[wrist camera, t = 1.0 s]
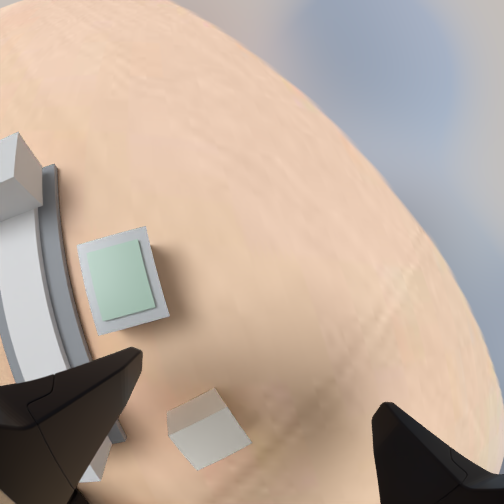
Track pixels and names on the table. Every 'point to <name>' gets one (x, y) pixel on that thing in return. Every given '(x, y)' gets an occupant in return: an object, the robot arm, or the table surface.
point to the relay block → (205, 430)
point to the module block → (121, 281)
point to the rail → (38, 280)
